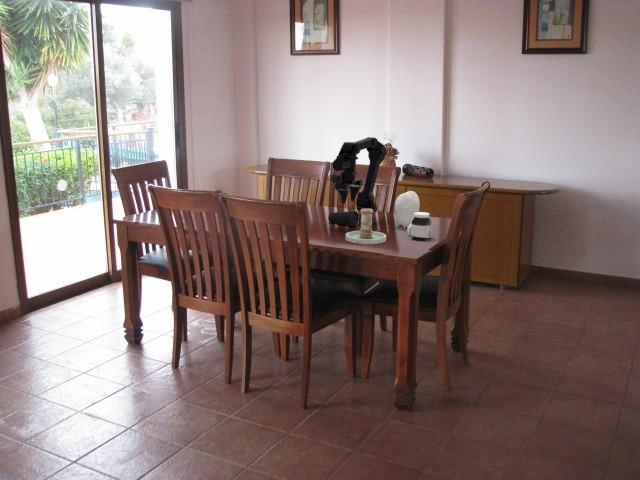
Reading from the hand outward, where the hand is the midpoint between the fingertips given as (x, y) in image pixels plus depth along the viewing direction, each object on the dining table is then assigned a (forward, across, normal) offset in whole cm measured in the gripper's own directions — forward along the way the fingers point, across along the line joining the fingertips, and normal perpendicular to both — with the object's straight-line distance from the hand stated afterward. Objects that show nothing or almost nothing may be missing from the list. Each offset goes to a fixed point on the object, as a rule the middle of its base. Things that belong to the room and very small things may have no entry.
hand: (347, 202), depth 333 cm
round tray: (+13, +14, +16) cm, 25 cm away
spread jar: (+13, -3, +35) cm, 37 cm away
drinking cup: (+10, -10, -14) cm, 20 cm away
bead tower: (+12, +13, +16) cm, 24 cm away
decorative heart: (+12, -21, +22) cm, 33 cm away
